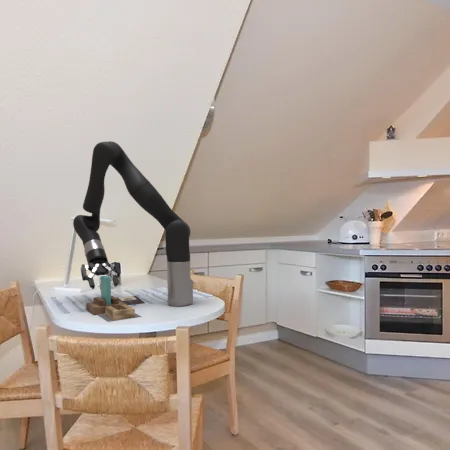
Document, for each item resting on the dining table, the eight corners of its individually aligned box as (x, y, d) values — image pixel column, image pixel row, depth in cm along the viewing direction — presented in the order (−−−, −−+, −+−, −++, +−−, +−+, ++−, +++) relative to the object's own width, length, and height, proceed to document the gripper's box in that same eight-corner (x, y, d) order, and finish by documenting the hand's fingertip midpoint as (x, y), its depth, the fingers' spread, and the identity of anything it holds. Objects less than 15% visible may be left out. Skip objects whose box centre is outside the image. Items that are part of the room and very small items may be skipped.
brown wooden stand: (117, 307, 170) (117, 294, 170) (126, 311, 161) (126, 298, 161) (86, 311, 163) (85, 297, 163) (94, 316, 155) (93, 302, 155)
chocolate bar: (122, 305, 171) (114, 297, 187) (122, 307, 171) (114, 299, 187) (145, 302, 174) (135, 295, 191) (145, 305, 174) (135, 297, 191)
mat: (129, 311, 161) (129, 310, 161) (142, 317, 151) (142, 316, 151) (97, 316, 155) (97, 315, 155) (108, 323, 145) (108, 321, 145)
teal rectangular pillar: (105, 301, 165) (105, 275, 165) (111, 304, 160) (110, 277, 160) (101, 302, 164) (100, 276, 164) (106, 305, 159) (105, 277, 159)
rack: (125, 312, 158) (125, 304, 158) (134, 317, 151) (134, 308, 151) (105, 315, 154) (105, 306, 154) (114, 320, 147) (113, 311, 147)
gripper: (78, 248, 166) (87, 282, 156) (115, 246, 173) (125, 278, 164) (75, 261, 170) (84, 294, 161) (111, 258, 178) (121, 290, 169)
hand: (105, 286), depth 163 cm, fingers open, 8 cm apart
